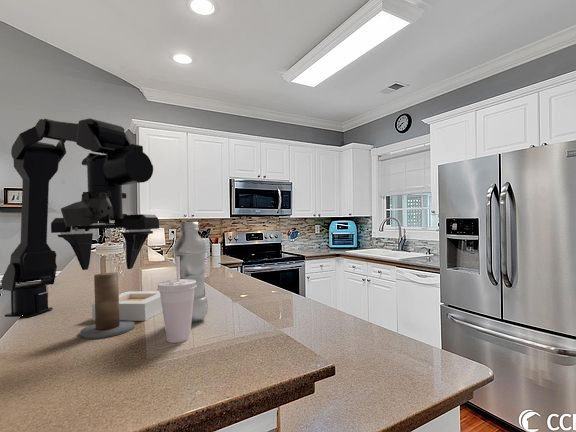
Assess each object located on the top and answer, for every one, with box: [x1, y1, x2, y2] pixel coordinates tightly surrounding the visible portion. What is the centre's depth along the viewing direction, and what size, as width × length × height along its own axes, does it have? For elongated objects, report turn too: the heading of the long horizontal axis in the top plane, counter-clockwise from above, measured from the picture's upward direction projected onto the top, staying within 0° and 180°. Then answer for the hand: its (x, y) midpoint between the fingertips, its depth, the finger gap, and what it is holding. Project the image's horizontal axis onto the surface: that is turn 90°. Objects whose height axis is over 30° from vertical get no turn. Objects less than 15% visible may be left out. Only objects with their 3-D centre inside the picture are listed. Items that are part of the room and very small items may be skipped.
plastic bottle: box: [173, 221, 209, 323], centre depth 67 cm, size 6×7×20 cm
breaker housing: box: [91, 290, 163, 322], centre depth 74 cm, size 12×12×4 cm
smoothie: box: [157, 257, 196, 344], centre depth 56 cm, size 6×6×14 cm
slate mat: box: [79, 320, 136, 340], centre depth 62 cm, size 9×9×1 cm
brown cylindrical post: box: [93, 272, 120, 331], centre depth 62 cm, size 4×4×10 cm
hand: (107, 269), depth 62 cm, fingers open, 9 cm apart
